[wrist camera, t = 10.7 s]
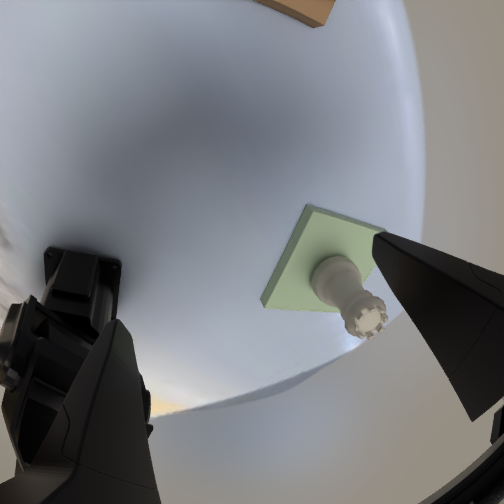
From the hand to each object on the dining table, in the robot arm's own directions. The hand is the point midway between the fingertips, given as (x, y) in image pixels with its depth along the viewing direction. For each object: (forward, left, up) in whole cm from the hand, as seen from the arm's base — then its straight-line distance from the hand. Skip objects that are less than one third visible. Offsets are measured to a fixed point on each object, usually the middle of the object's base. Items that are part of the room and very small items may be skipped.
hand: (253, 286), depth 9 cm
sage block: (-5, -14, -13) cm, 19 cm away
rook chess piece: (-6, -13, -10) cm, 18 cm away
